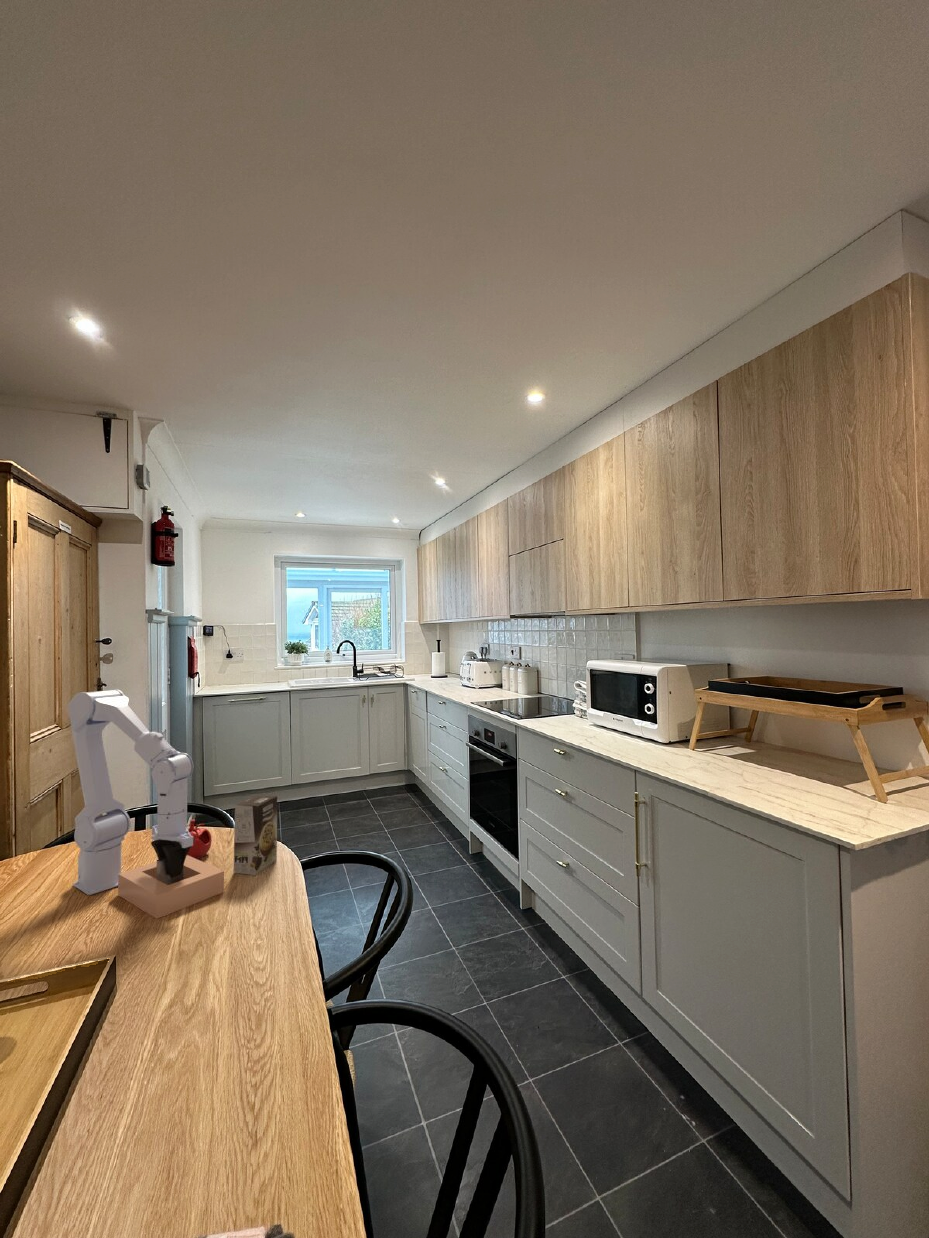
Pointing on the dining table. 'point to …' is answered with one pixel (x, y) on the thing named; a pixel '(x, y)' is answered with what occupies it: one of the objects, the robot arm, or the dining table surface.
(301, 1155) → the dining table surface
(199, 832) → the red tomato holder
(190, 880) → the holder block
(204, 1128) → the dining table surface
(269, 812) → the coffee box
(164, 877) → the brushed metal prism
